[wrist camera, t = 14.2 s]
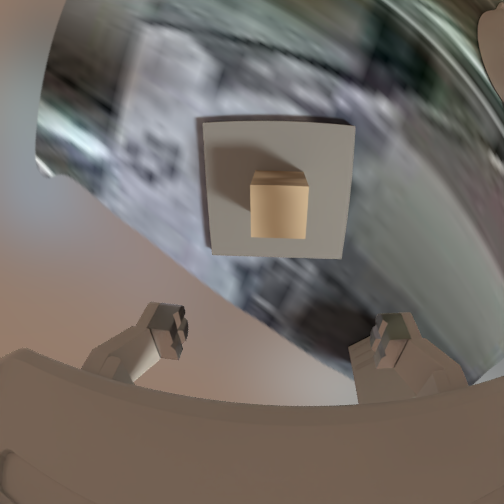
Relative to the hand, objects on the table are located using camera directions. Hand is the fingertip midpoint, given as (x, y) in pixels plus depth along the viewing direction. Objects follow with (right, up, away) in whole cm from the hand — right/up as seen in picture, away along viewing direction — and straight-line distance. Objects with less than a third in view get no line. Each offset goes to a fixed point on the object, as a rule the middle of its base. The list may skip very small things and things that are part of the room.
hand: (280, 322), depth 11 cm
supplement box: (+18, -11, +26) cm, 34 cm away
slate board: (+1, +9, +16) cm, 18 cm away
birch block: (+1, +8, +15) cm, 17 cm away
